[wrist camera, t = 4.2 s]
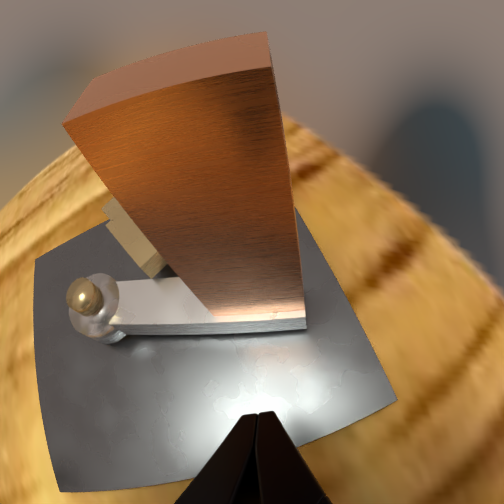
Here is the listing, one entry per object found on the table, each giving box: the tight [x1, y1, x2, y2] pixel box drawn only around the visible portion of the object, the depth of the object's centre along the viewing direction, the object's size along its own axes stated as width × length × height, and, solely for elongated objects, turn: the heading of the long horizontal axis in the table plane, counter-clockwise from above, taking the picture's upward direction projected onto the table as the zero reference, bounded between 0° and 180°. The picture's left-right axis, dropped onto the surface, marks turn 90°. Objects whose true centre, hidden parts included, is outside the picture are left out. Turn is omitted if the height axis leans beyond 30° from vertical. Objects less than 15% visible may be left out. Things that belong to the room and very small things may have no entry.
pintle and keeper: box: [66, 197, 168, 317], centre depth 17 cm, size 7×8×5 cm
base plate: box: [33, 208, 398, 492], centre depth 17 cm, size 18×20×1 cm
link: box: [62, 32, 307, 344], centre depth 11 cm, size 13×4×12 cm, turn 90°
